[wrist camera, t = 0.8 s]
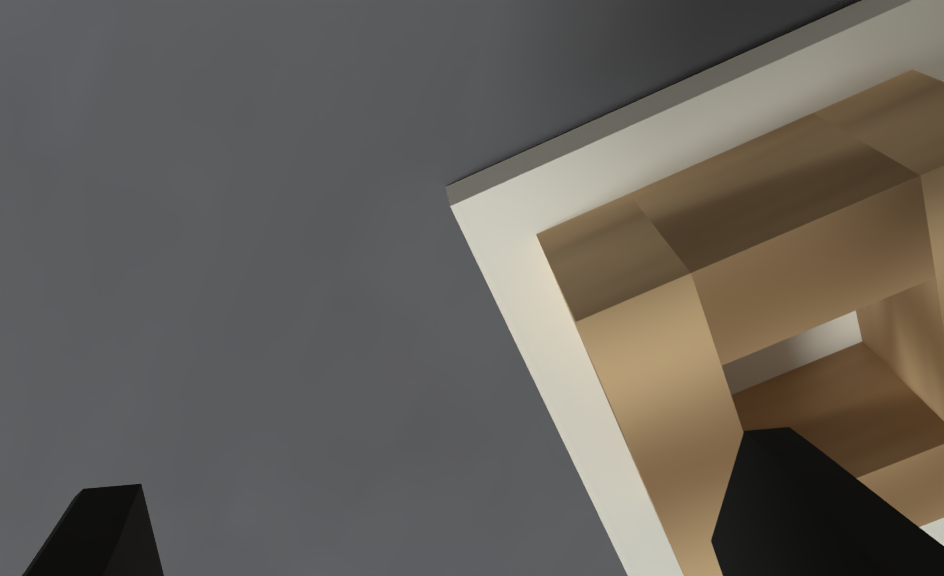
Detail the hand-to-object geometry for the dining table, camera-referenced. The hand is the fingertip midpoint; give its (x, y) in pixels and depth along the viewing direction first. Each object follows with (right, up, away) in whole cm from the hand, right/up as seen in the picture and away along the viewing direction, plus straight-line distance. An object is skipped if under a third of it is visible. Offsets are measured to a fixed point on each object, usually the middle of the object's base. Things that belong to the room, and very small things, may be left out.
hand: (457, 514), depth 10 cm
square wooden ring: (+7, +2, +11) cm, 13 cm away
